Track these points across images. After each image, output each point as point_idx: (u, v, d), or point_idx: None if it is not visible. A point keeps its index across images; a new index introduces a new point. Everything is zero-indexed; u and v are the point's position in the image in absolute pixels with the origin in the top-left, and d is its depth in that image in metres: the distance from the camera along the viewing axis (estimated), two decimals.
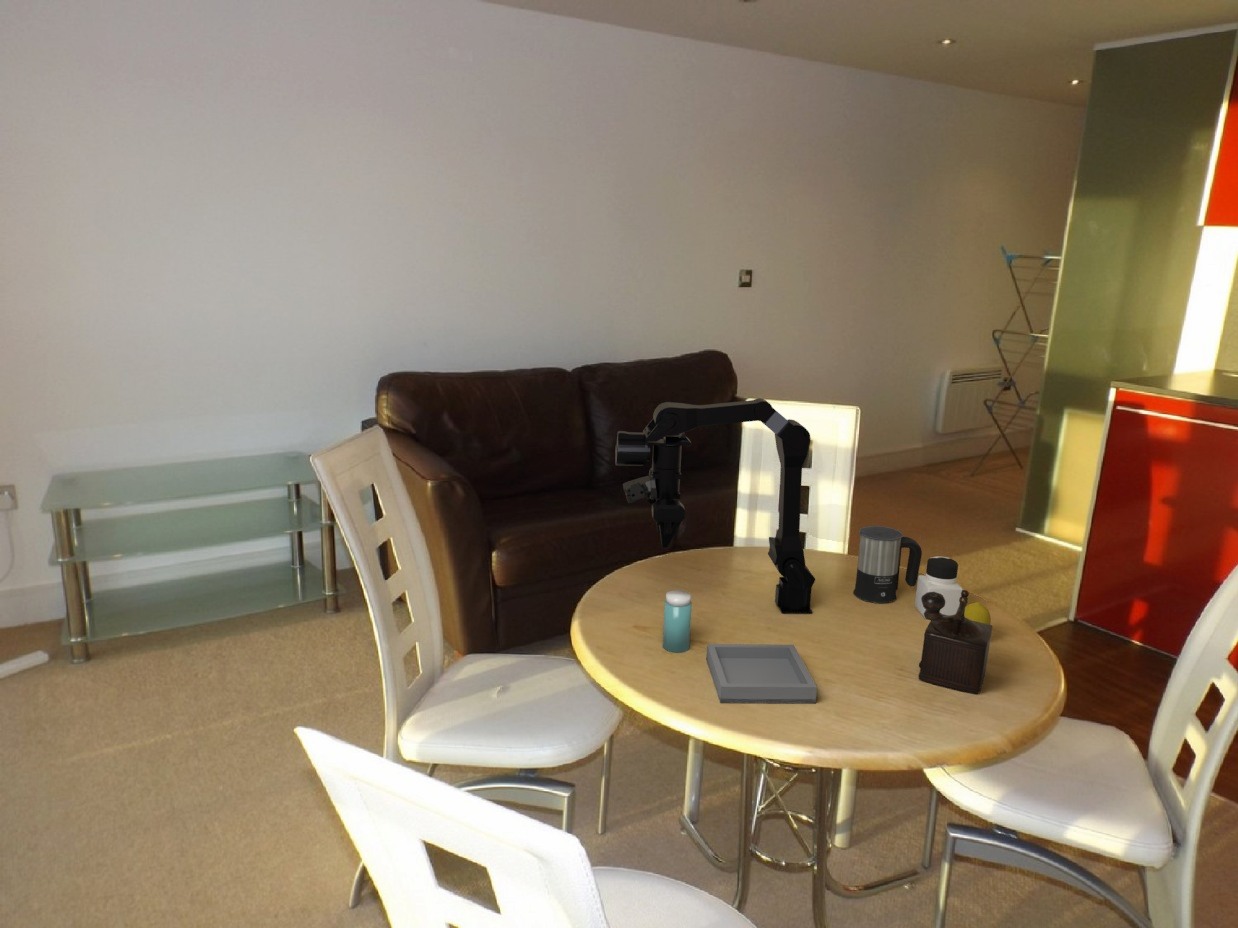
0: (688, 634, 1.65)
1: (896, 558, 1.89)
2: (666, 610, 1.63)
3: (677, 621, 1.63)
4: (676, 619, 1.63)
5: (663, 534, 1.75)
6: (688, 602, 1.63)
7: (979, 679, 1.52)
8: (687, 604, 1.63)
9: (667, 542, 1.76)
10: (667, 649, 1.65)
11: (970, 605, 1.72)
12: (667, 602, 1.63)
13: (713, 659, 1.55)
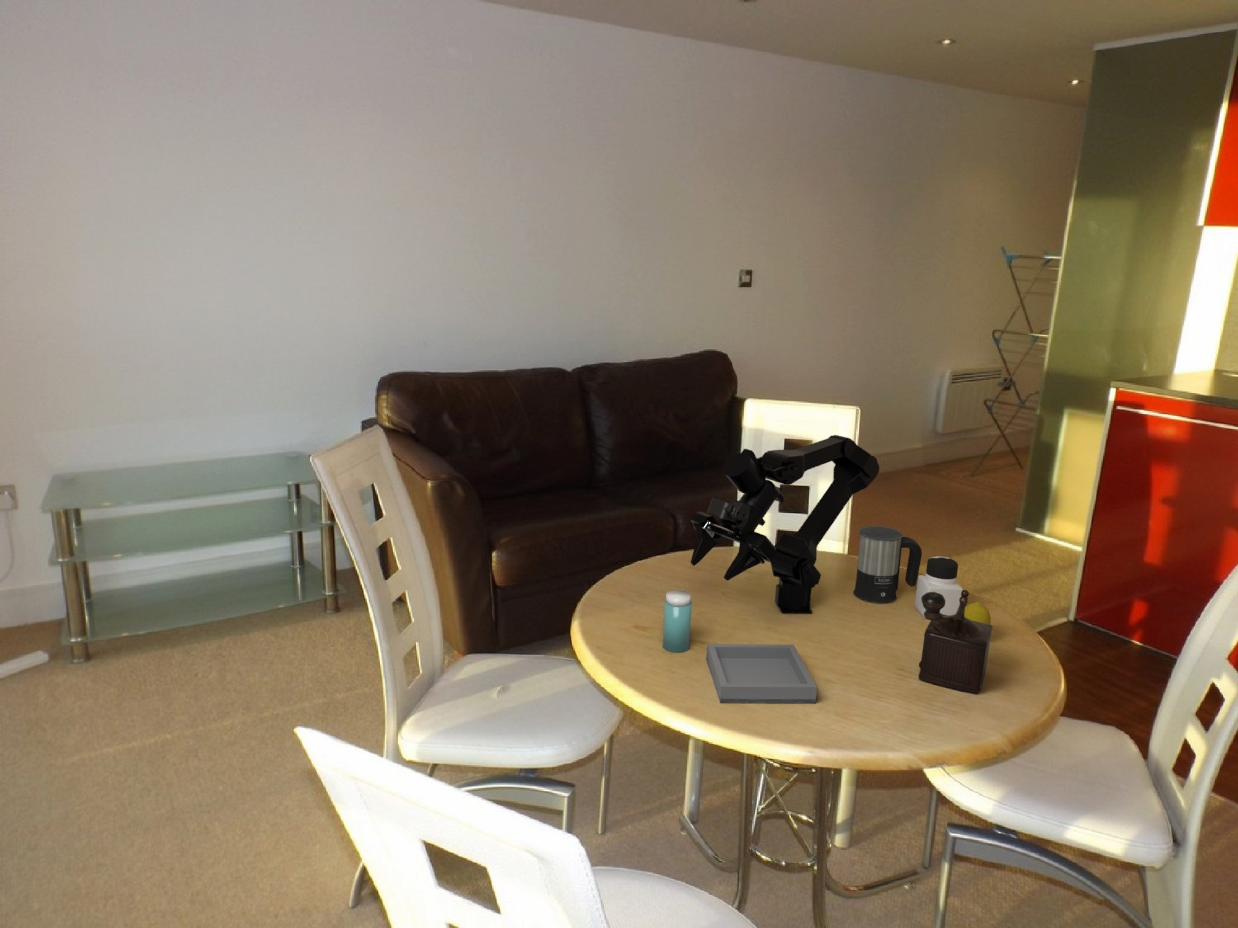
0: (688, 634, 1.65)
1: (896, 558, 1.89)
2: (666, 610, 1.63)
3: (677, 621, 1.63)
4: (676, 619, 1.63)
5: (737, 565, 1.64)
6: (688, 602, 1.63)
7: (979, 679, 1.52)
8: (687, 604, 1.63)
9: (732, 575, 1.65)
10: (667, 649, 1.65)
11: (970, 605, 1.72)
12: (667, 602, 1.63)
13: (713, 659, 1.55)
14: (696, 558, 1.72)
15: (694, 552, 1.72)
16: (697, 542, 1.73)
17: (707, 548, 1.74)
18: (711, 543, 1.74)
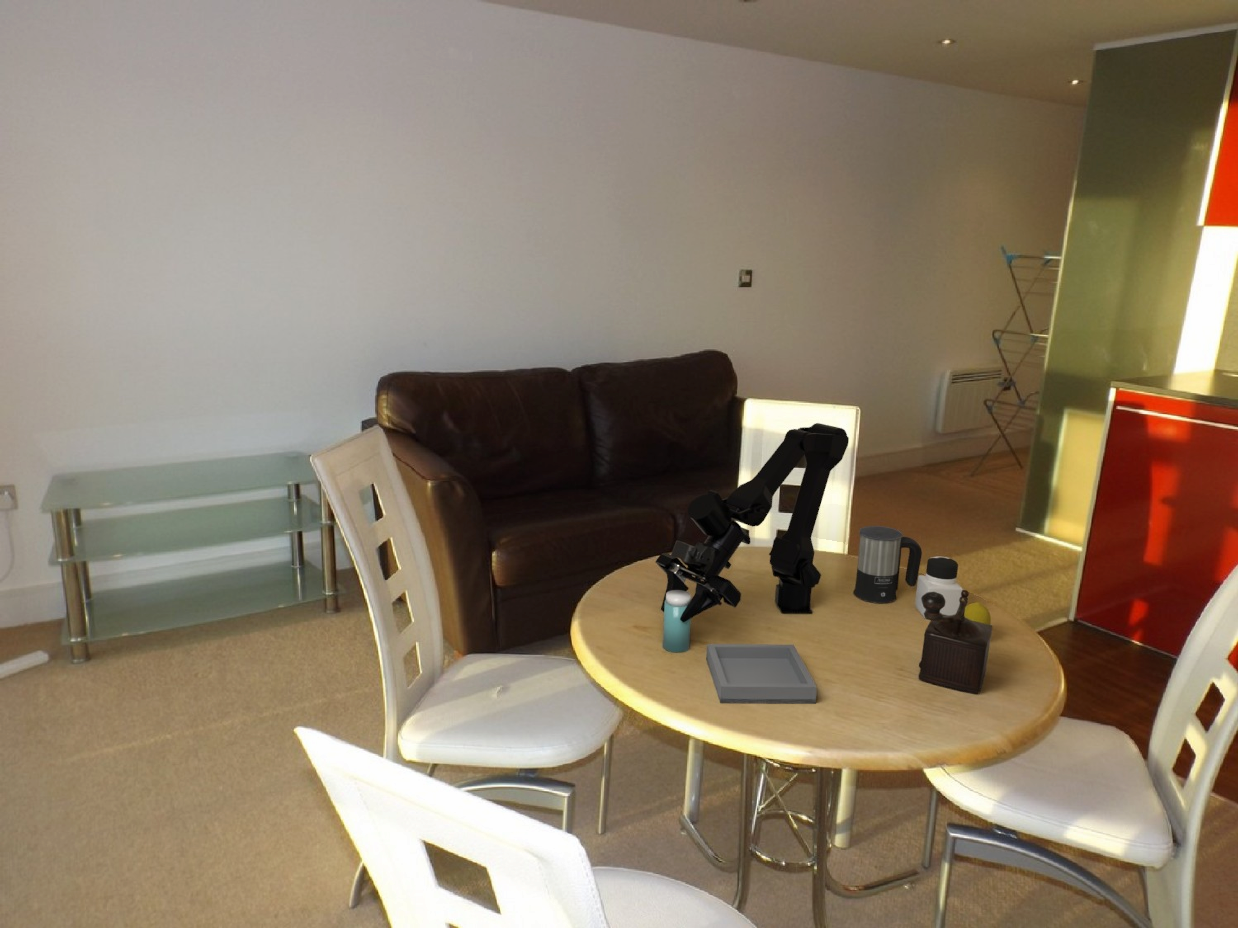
0: (688, 634, 1.65)
1: (896, 558, 1.89)
2: (666, 610, 1.63)
3: (677, 621, 1.63)
4: (676, 619, 1.63)
5: (693, 607, 1.62)
6: (688, 602, 1.63)
7: (979, 679, 1.52)
8: (687, 604, 1.63)
9: (688, 617, 1.62)
10: (667, 649, 1.65)
11: (970, 605, 1.72)
12: (667, 602, 1.63)
13: (713, 659, 1.55)
14: None
15: (665, 598, 1.67)
16: (668, 587, 1.67)
17: None
18: (682, 588, 1.69)
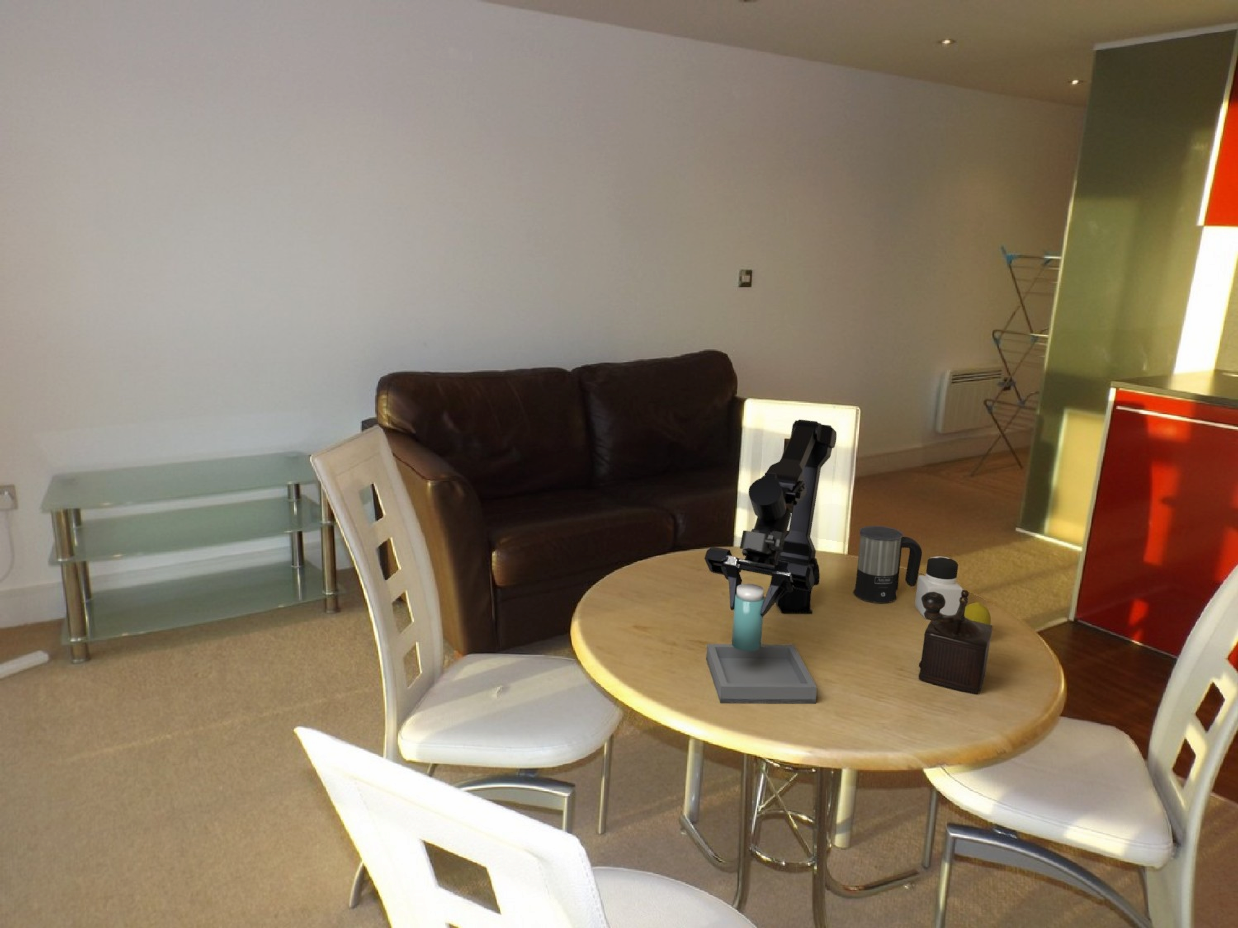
0: None
1: (896, 558, 1.89)
2: (743, 607, 1.50)
3: (756, 617, 1.51)
4: (755, 615, 1.51)
5: (772, 599, 1.51)
6: (763, 594, 1.52)
7: (979, 679, 1.52)
8: (763, 597, 1.52)
9: (767, 610, 1.51)
10: (744, 649, 1.52)
11: (970, 605, 1.72)
12: (743, 598, 1.50)
13: (713, 659, 1.55)
14: (734, 601, 1.53)
15: (731, 595, 1.53)
16: (731, 583, 1.54)
17: None
18: (739, 581, 1.57)
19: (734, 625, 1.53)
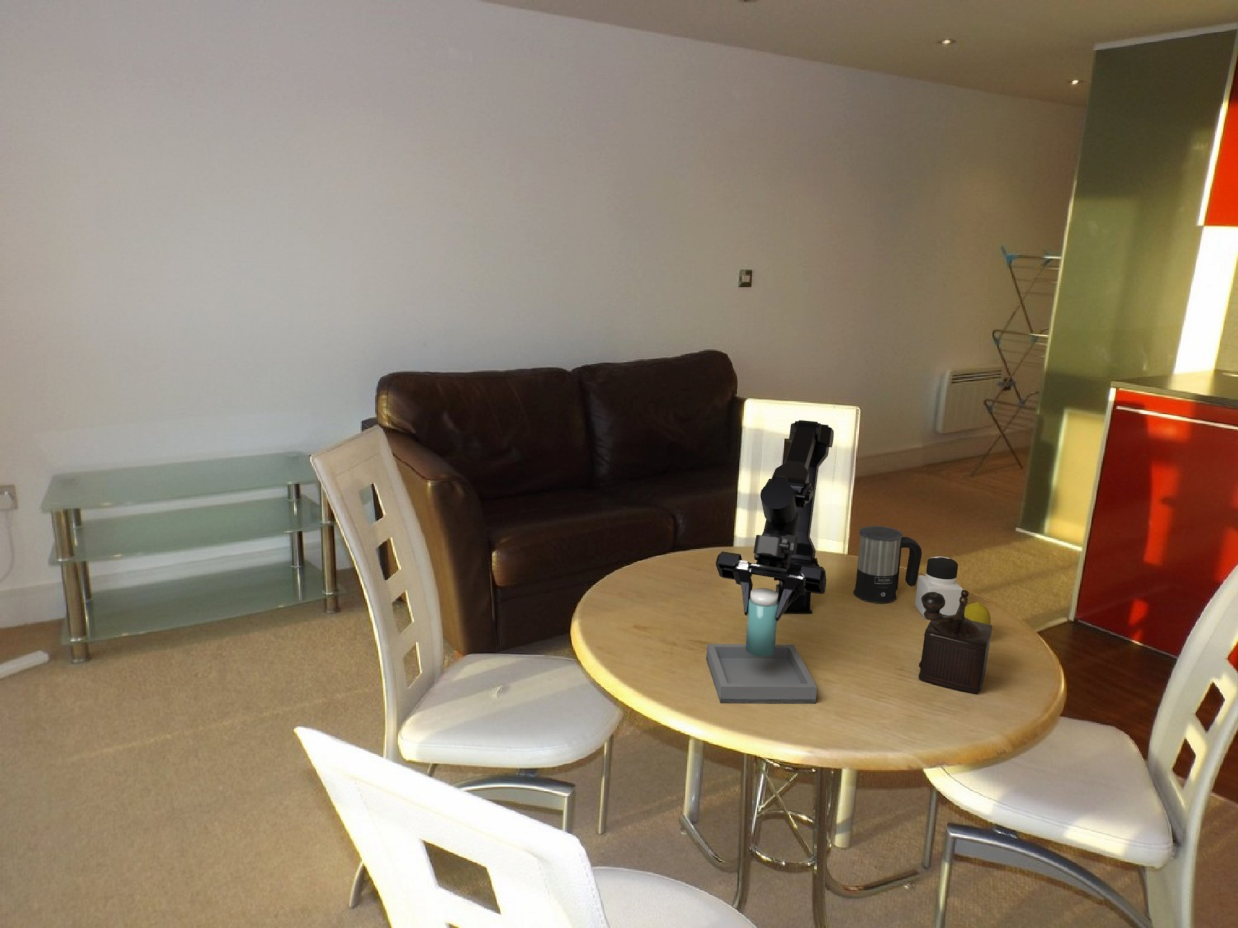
0: None
1: (896, 558, 1.89)
2: (758, 612, 1.49)
3: (771, 622, 1.50)
4: (770, 620, 1.50)
5: (786, 603, 1.50)
6: (777, 599, 1.51)
7: (979, 679, 1.52)
8: (777, 601, 1.51)
9: (781, 614, 1.50)
10: (759, 654, 1.51)
11: (970, 605, 1.72)
12: (758, 603, 1.49)
13: (713, 659, 1.55)
14: (748, 606, 1.52)
15: (745, 600, 1.52)
16: (744, 588, 1.53)
17: (750, 592, 1.55)
18: (751, 586, 1.56)
19: (748, 630, 1.52)
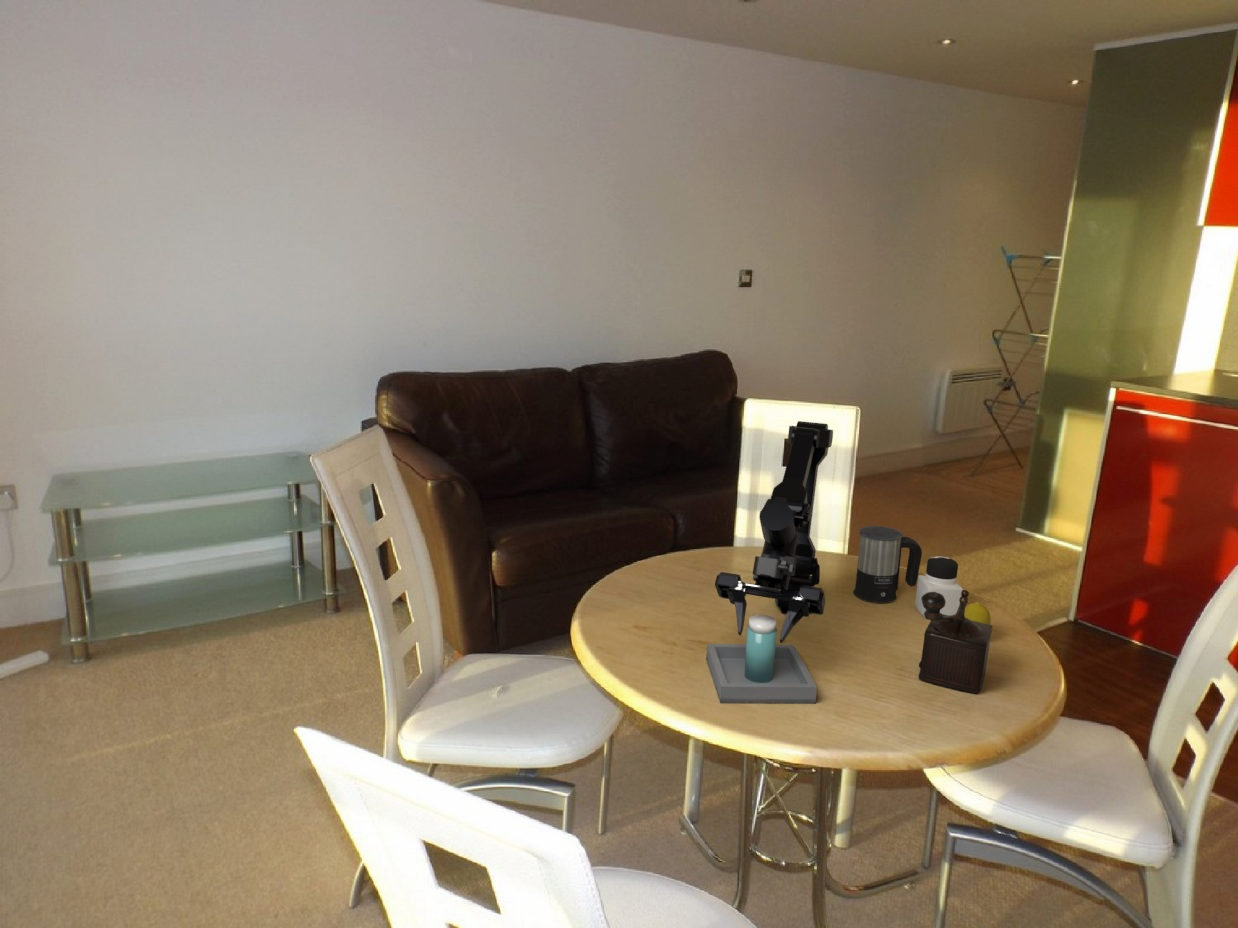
0: None
1: (896, 558, 1.89)
2: (757, 640, 1.50)
3: (769, 649, 1.51)
4: (768, 647, 1.51)
5: (790, 625, 1.51)
6: (775, 626, 1.52)
7: (979, 679, 1.52)
8: (775, 628, 1.52)
9: (785, 636, 1.51)
10: (758, 681, 1.52)
11: (970, 605, 1.72)
12: (756, 631, 1.50)
13: (713, 659, 1.55)
14: (742, 626, 1.53)
15: (739, 620, 1.53)
16: (738, 608, 1.54)
17: (744, 612, 1.56)
18: (745, 605, 1.57)
19: (747, 657, 1.53)
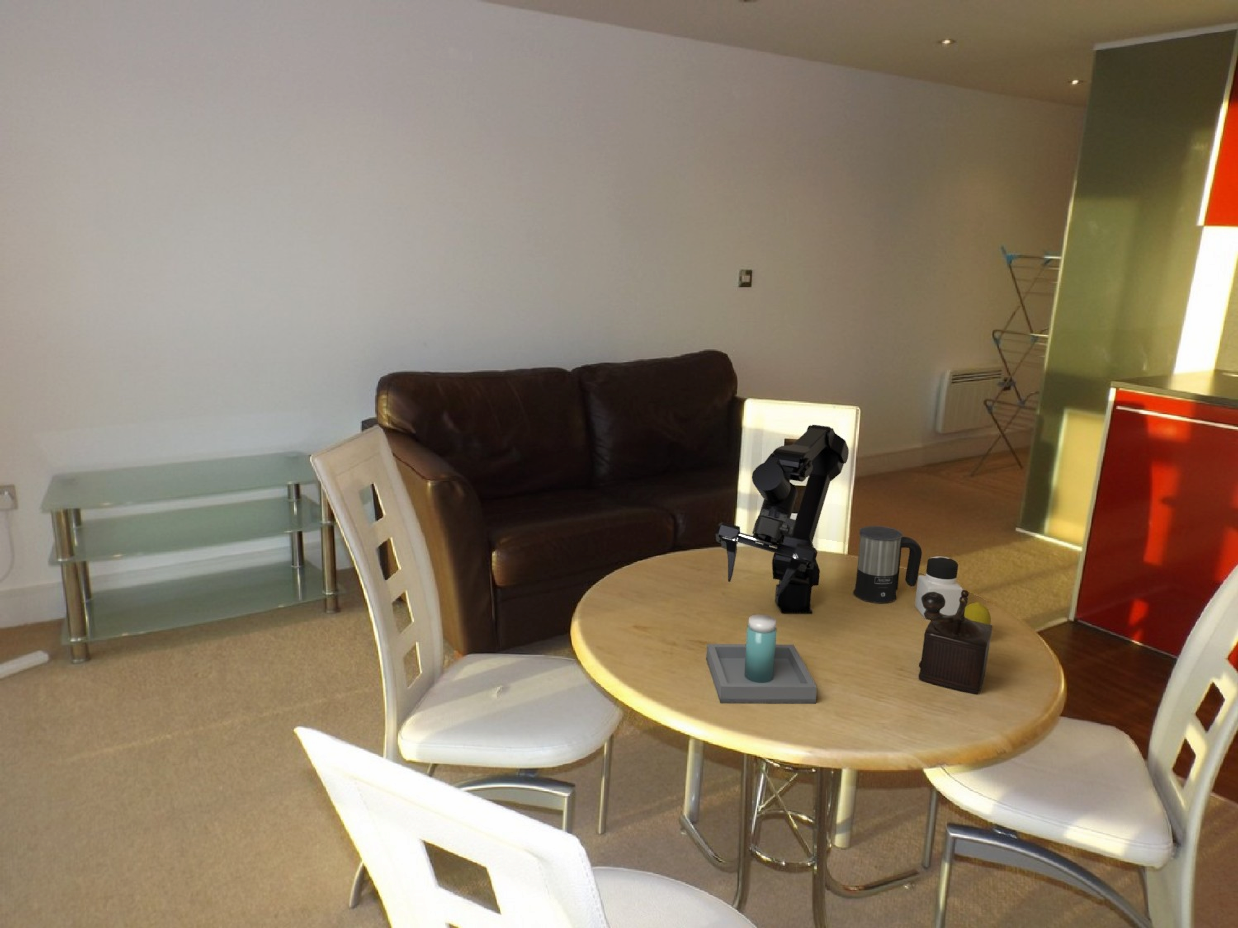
0: None
1: (896, 558, 1.89)
2: (756, 639, 1.51)
3: (769, 648, 1.51)
4: (768, 646, 1.51)
5: (788, 581, 1.62)
6: (775, 625, 1.52)
7: (979, 679, 1.52)
8: (775, 628, 1.52)
9: (782, 590, 1.62)
10: (757, 680, 1.52)
11: (970, 605, 1.72)
12: (756, 630, 1.51)
13: (713, 659, 1.55)
14: (732, 574, 1.64)
15: (730, 568, 1.64)
16: (730, 557, 1.64)
17: None
18: (736, 552, 1.67)
19: (747, 657, 1.53)
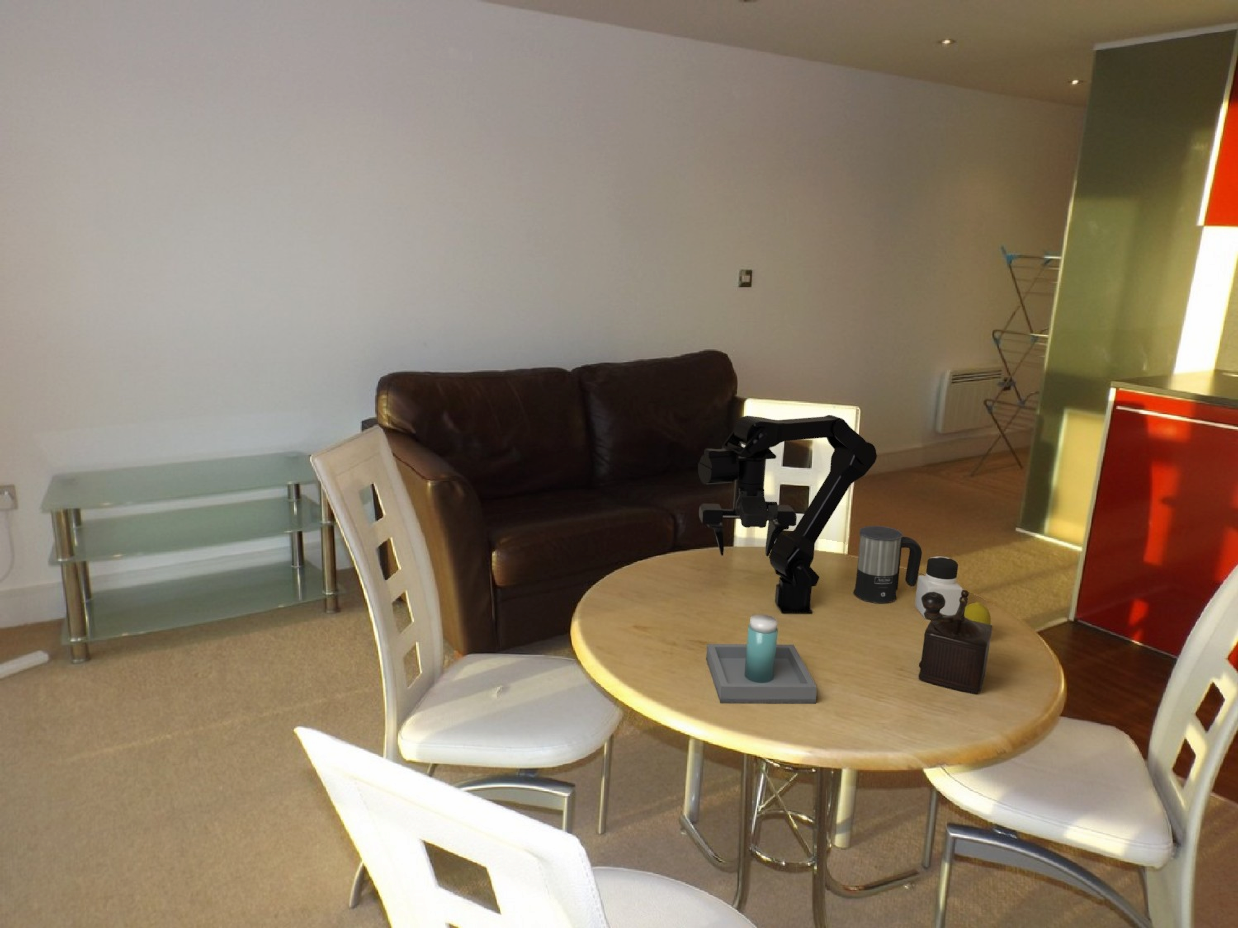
0: None
1: (896, 558, 1.89)
2: (757, 639, 1.51)
3: (770, 649, 1.51)
4: (769, 647, 1.51)
5: None
6: (776, 626, 1.52)
7: (979, 679, 1.52)
8: (776, 628, 1.52)
9: None
10: (757, 680, 1.52)
11: (970, 605, 1.72)
12: (757, 630, 1.51)
13: (713, 659, 1.55)
14: None
15: (721, 546, 1.77)
16: (719, 537, 1.76)
17: None
18: None
19: (747, 656, 1.53)
